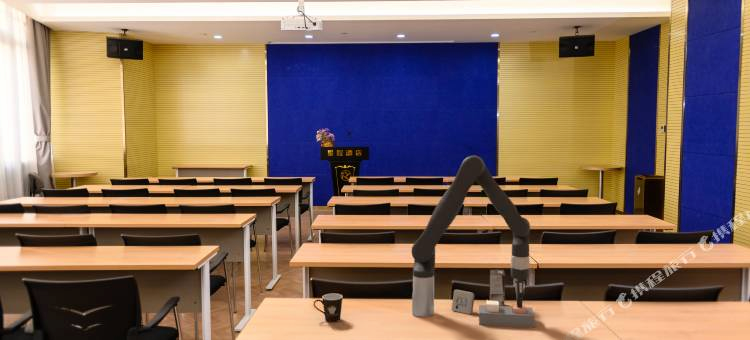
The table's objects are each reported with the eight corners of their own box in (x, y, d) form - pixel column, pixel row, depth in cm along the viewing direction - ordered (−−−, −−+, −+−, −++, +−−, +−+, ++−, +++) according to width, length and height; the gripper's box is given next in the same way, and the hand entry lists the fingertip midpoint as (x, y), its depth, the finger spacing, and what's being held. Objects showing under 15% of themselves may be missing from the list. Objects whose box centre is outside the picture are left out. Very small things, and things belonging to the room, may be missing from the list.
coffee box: (504, 310, 250) (505, 275, 248) (489, 309, 251) (490, 274, 250) (504, 303, 259) (504, 269, 257) (489, 303, 260) (490, 268, 259)
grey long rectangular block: (479, 324, 234) (479, 312, 233) (479, 316, 243) (479, 304, 243) (533, 327, 230) (534, 315, 229) (531, 319, 239) (531, 307, 239)
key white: (486, 315, 235) (486, 304, 235) (486, 311, 240) (486, 300, 240) (498, 316, 234) (498, 304, 234) (498, 312, 239) (498, 300, 239)
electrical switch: (451, 310, 250) (452, 290, 250) (456, 308, 255) (457, 288, 254) (470, 315, 245) (471, 294, 245) (475, 312, 249) (476, 292, 249)
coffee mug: (346, 317, 243) (346, 295, 242) (336, 324, 235) (336, 301, 234) (322, 313, 248) (322, 291, 247) (312, 320, 240) (312, 297, 239)
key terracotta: (513, 320, 233) (513, 308, 233) (512, 316, 238) (512, 304, 238) (525, 321, 232) (526, 309, 232) (524, 317, 237) (525, 305, 237)
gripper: (510, 261, 240) (509, 301, 242) (511, 270, 227) (511, 311, 229) (528, 262, 239) (527, 302, 241) (530, 270, 226) (530, 312, 228)
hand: (519, 306), depth 235 cm, fingers closed
